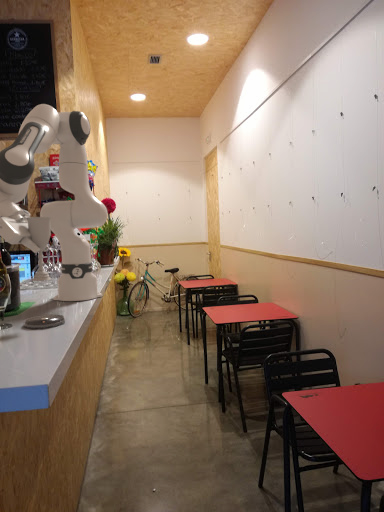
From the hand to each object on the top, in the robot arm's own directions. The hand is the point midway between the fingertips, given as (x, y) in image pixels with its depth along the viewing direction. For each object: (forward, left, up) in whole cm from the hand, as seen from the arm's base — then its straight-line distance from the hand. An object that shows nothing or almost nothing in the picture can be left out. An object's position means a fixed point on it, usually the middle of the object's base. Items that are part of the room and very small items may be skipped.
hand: (42, 250), depth 110 cm
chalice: (0, -1, -9) cm, 9 cm away
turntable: (0, -1, -22) cm, 22 cm away
